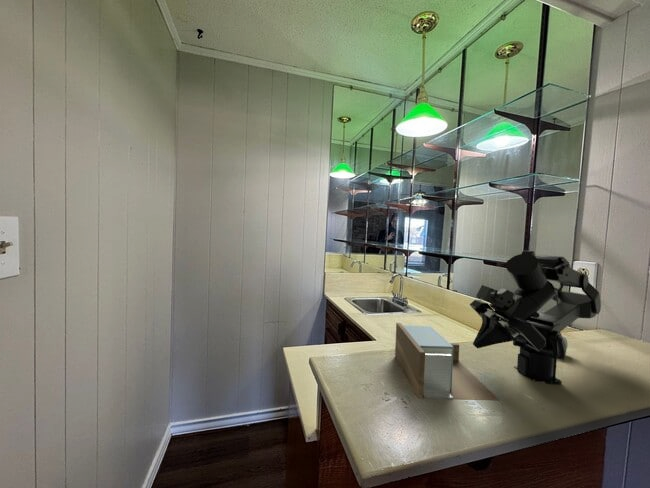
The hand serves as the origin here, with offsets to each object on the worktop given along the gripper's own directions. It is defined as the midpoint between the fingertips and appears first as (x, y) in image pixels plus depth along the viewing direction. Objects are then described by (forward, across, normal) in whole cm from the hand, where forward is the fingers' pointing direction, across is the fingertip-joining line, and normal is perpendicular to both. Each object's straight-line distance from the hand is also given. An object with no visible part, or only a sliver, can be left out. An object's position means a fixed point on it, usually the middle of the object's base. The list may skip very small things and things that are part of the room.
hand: (474, 346), depth 60 cm
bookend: (+13, +9, -4) cm, 16 cm away
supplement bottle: (-19, -13, +25) cm, 34 cm away
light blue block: (+13, 0, -4) cm, 13 cm away
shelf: (+11, +1, -1) cm, 11 cm away
